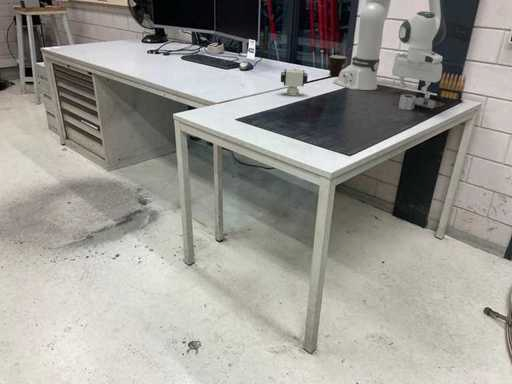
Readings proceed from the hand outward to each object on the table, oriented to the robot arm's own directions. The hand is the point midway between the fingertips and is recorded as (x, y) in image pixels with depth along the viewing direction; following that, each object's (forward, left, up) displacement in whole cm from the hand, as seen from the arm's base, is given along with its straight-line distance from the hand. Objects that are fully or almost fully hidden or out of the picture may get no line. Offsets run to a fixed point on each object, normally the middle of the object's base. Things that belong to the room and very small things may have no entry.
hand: (413, 89), depth 174 cm
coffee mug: (-58, +22, -8) cm, 63 cm away
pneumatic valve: (-44, -26, -8) cm, 52 cm away
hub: (-1, 0, -8) cm, 8 cm away
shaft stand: (+1, +13, -8) cm, 15 cm away
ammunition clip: (+4, +29, -8) cm, 30 cm away
